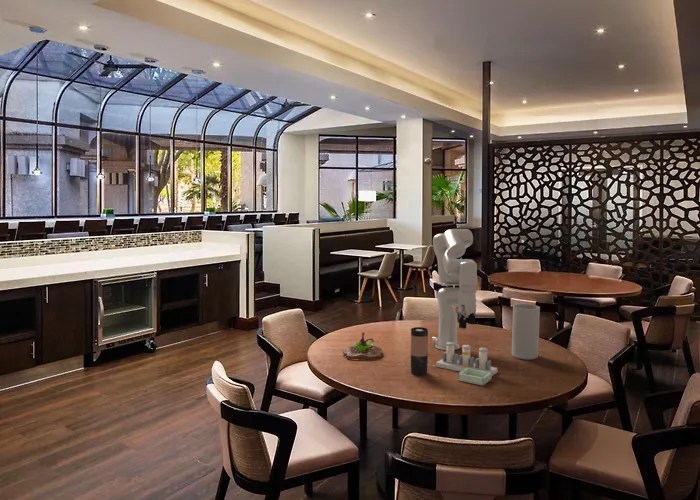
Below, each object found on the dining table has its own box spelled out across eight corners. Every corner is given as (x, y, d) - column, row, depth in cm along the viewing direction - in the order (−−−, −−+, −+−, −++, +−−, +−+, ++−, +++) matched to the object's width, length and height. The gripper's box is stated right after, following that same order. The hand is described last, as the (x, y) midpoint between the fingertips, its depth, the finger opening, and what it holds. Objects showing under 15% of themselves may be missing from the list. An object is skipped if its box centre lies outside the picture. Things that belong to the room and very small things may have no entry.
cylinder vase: (539, 360, 255) (541, 309, 252) (512, 359, 257) (514, 308, 255) (536, 353, 267) (537, 304, 265) (510, 352, 269) (511, 303, 267)
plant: (384, 350, 275) (384, 328, 274) (382, 361, 255) (382, 338, 254) (345, 349, 277) (345, 328, 276) (341, 360, 257) (341, 337, 256)
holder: (435, 366, 246) (436, 354, 246) (444, 361, 253) (444, 349, 253) (489, 377, 231) (489, 364, 230) (497, 372, 238) (497, 359, 237)
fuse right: (477, 368, 237) (477, 349, 236) (480, 366, 240) (481, 347, 239) (485, 370, 235) (485, 350, 234) (488, 368, 238) (488, 348, 237)
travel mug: (430, 371, 239) (430, 328, 237) (423, 376, 232) (424, 332, 230) (414, 369, 243) (415, 326, 241) (407, 373, 236) (408, 329, 234)
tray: (458, 380, 228) (458, 373, 227) (467, 374, 235) (467, 368, 235) (483, 385, 221) (483, 378, 221) (491, 379, 228) (491, 372, 228)
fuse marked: (460, 365, 242) (461, 346, 241) (464, 363, 244) (464, 344, 244) (468, 366, 239) (468, 347, 238) (471, 364, 242) (472, 345, 241)
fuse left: (444, 362, 246) (445, 343, 245) (448, 360, 249) (448, 341, 248) (452, 363, 244) (452, 344, 243) (455, 361, 247) (455, 342, 246)
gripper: (468, 285, 248) (467, 321, 249) (451, 290, 234) (451, 328, 235) (483, 287, 243) (482, 323, 245) (467, 292, 229) (467, 331, 231)
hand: (467, 326), depth 240 cm, fingers open, 9 cm apart
